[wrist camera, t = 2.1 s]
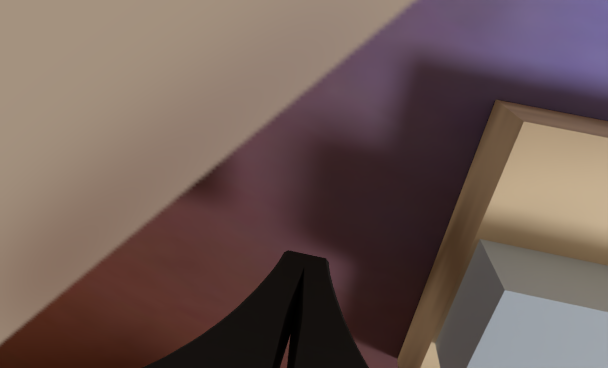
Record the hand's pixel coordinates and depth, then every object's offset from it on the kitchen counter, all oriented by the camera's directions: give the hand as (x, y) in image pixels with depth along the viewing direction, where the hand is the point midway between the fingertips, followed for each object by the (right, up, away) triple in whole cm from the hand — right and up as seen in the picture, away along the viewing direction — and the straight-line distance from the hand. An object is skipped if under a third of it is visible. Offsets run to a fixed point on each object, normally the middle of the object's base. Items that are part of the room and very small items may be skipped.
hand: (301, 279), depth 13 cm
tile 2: (+7, -1, 0) cm, 7 cm away
